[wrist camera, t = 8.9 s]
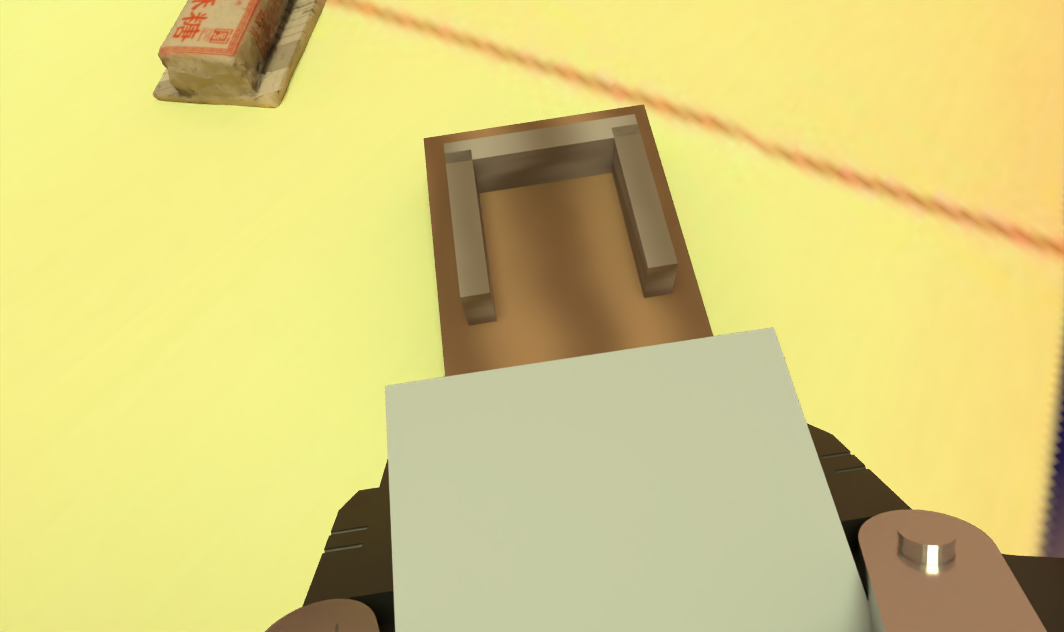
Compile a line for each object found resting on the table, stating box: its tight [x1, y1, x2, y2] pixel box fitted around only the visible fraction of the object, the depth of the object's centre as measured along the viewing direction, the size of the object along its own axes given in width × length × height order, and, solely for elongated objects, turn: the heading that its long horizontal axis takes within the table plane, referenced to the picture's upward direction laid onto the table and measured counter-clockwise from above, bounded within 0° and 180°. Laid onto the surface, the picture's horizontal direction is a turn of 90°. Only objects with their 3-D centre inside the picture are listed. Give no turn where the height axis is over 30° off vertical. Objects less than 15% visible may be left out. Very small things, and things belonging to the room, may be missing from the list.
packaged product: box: [153, 0, 326, 108], centre depth 56 cm, size 18×5×10 cm
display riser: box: [424, 105, 713, 377], centre depth 40 cm, size 14×22×7 cm, turn 8°
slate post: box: [385, 327, 874, 632], centre depth 12 cm, size 4×4×11 cm
